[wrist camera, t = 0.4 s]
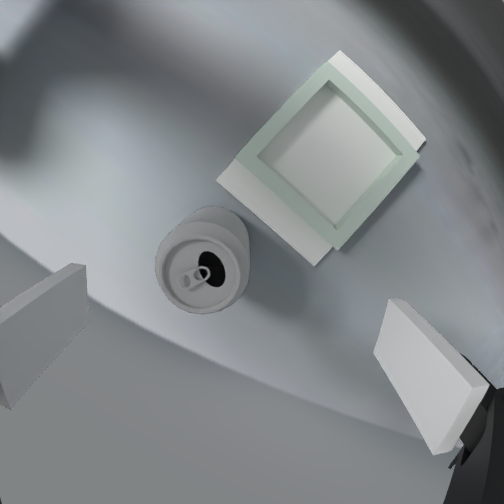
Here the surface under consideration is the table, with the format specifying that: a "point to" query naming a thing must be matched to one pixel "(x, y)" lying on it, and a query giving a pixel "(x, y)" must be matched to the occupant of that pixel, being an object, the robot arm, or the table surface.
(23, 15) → the table surface
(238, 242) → the can
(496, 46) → the table surface
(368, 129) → the green and white tray
